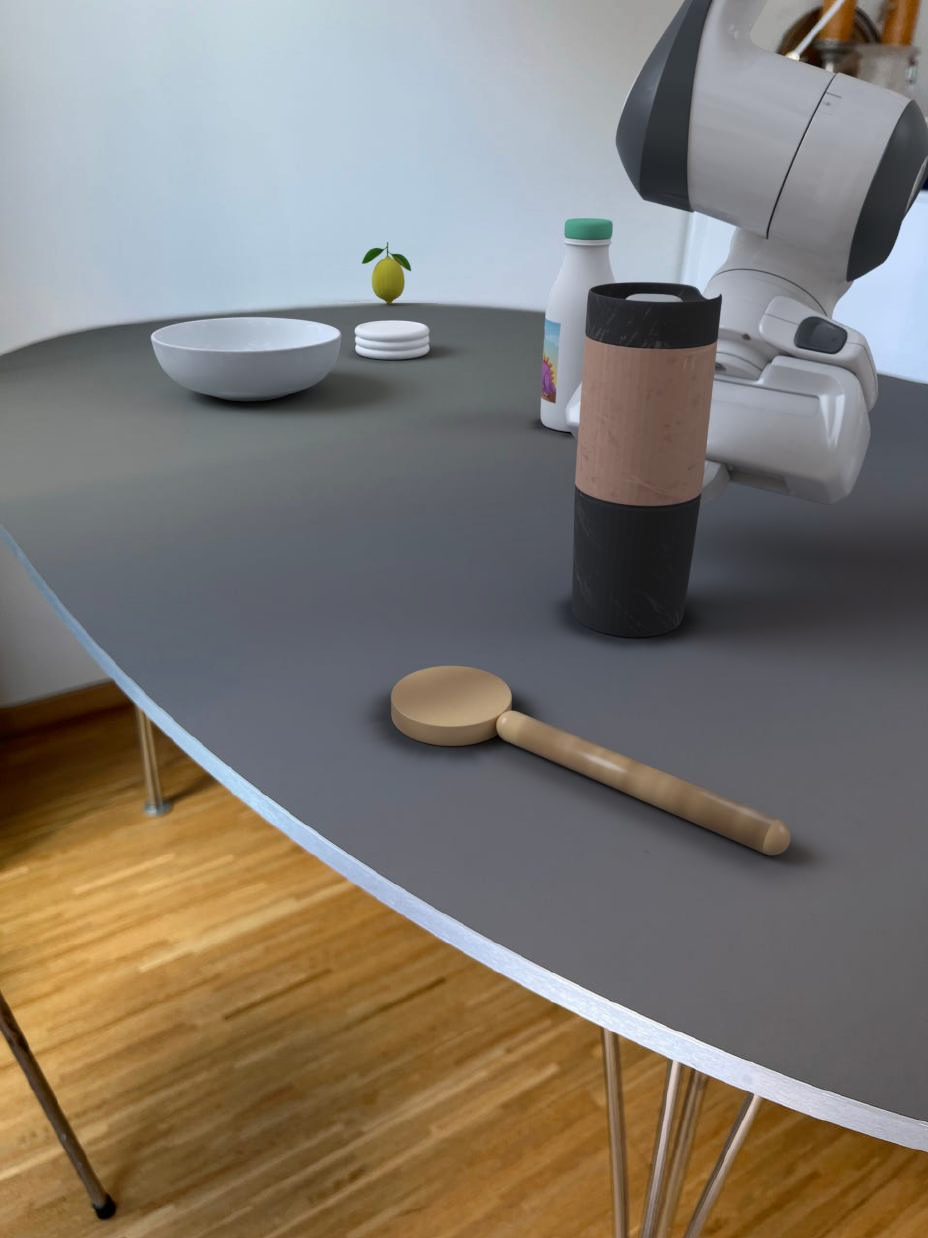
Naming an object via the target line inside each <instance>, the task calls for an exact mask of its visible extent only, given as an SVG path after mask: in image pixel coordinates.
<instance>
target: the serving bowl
mask: <svg viewBox="0 0 928 1238" xmlns="http://www.w3.org/2000/svg"><path fill="white" fill-rule="evenodd" d="M342 336H343V335H342V333H341V331H340V330H339V329H338V328H336V327H335V326H332V325H329V324H326V323H321V322H317V321H311V320H305V319H297V318H285V317H266V316H265V317H264V316H263V317H260V316H245V317H223V318H208V319H207V318H206V319H198V320H192V321H191V320H190V321H185V322H179V323H174V324H171V325H167V326H165V327H164V326H163V327H162V328H159V329H157V330H155V331H153V333H152V334H151V335H150V341H151V345H152V348H153V352H154V354H155V357H156V359H157V361H158V363H159V365H160V367H161V368H162V370H163V371H164V372H165V373H166V374H167V375H168V376H169V378H171V379H172V380H173V381H174V382H175V383H177V384H178V385H180V386H182V387H184V388H186V389H188V390H190V391H193V392H196V393H199V394H203V395H207V396H211V397H215V398H218V399H222V400H226V401H234V402H260V401H270V400H275V399H280V398H283V397H286V396H288V395H290V394H295V393H298V392H300V391H303V390H307V389H309V388H311V387H313V386H315V385H317V384H318V383H320V381H322V380H324V379H325V378H326V377H327V376H328V375H329V374H330V372H331V371H332V370H333V368H334V367H335V365H336V362H337V360H338V358H339V354H340V350H341V343H342V338H343V337H342Z"/></svg>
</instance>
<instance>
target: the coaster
mask: <svg viewBox="0 0 928 1238" xmlns="http://www.w3.org/2000/svg"><path fill="white" fill-rule="evenodd" d="M354 334H355V338H354V342H355V353H357V354H358V355H359V356H361V357H364V358H369V359H375V360H384V361H385V360H386V361H387V360H388V361H389V360H391V361H395V360H409V359H415V358H416V359H417V358H420V357H424V356H425V355H427V354H428V353H429V352H430V345H429V344H430V336H429V334H430V328H429V327H428V326H427V325H426V324H424V323H421V322H416V321H410V320H377V321H369V322H364V323H360V324H358V325H357V326H356V327H355V328H354Z"/></svg>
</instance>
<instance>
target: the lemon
mask: <svg viewBox="0 0 928 1238" xmlns="http://www.w3.org/2000/svg"><path fill="white" fill-rule="evenodd" d="M385 250H386V256H385V257H384V258H382V259H380V260H379V261H378V262H377V263H376V265H374V268H373V270H372V275H371V287H372V291H373V293H374V294H375V296H376V297H377V298H379V299H381V300H383V301H384V302H385V303H386V304H387V305H391V304H392V303H393V301H395V300H396V299H398V298H399V297H401V295H402V294H403V292H404V289H405V285H406V282H405V280H406V279H405V274H404V270H403V269H405V270H407V271H408V272H412V267H411V264H410V261H409V260H408V259H407V257H405V256H404V254H402V253H391V252H390V251H389V241H387V242H386V247H384V248H380V247H374V248H371V249H369V250H368V251H367V252H365V253H366V254H365V255H364V257H363V259H362V262H361V265H365V264H368V263H370V262H372V261H374V260H375V259H376V258H378V257H379V256H380V255H381V254H382V253H383V252H384V251H385ZM389 254H390V255H389Z"/></svg>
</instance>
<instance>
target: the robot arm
mask: <svg viewBox="0 0 928 1238" xmlns="http://www.w3.org/2000/svg"><path fill="white" fill-rule="evenodd" d="M768 2H769V0H683V2H682V4H681V5H680V6H679V8H678V10H677V12H676V13H675V15H674V17H673V18H672V19H671V21H670V22H669V24H668V25H667V27H666V29H665V31H664V32H663V33H662V35H661V37H660V38H659V40H658V41H657V43H656V44H655V45H654V48H653V49H652V51H651V52H650V54H649V56H647V57H648V58H646V60H645V62H644V64H643V65H642V66H641V68H640V70H639V72H638V73H637V75H636V76H635V78H634V80H633V81H632V83H631V86H630V87H629V90H628V91H627V94H626V97H625V99H624V102H623V103H622V104H623V105H622V108H621V111H620V115H619V120H618V124H617V128H616V131H615V132H616V133H615V147H616V150H617V154H618V157H619V159H620V161H621V164H622V166H623V169H624V171H625V173H626V175H627V177H628V179H629V181H630V182H631V184H632V186H633V188H634V190H636V192H637V194H638V195H639V196H640V197H641V199H642V200H643V201H646V202H649V203H654V204H657V205H661V206H665V207H668V208H673V209H676V210H680V211H683V212H687V213H691V214H693V213H695V212H696V213H699V214H702V215H704V216H707V217H710V218H712V219H715V220H718V221H720V222H723V223H726V224H729V225H731V226H734V227H735V229H734V231H733V233H732V236H731V239H730V244H729V251H728V254H727V257H726V259H725V261H724V262H723V264H722V265H721V266H720V267H719V268H718V269H717V270H716V271H715V272H714V273H713V274H712V276H711V277H710V279H709V281H708V282H707V284H706V286H705V287H704V290H703V291H702V293H701V295H702V296H703V297H705V298H707V299H712V298H716V297H718V296H719V295H720V294H722V305H721V313H720V323H719V332H718V342H717V351H716V361H715V371H714V380H713V390H712V399H711V409H710V419H709V428H708V438H707V447H706V457H705V467H704V476H703V486H702V492H701V501H700V508H699V512H700V511H701V510H703V509H704V508H706V507H707V506H708V505H710V504H711V503H712V502H714V501H715V500H717V499H718V498H720V497H721V496H723V494H724V492H725V490H726V488H727V486H728V483H732V484H736V485H741V486H745V487H749V488H753V489H758V490H762V491H766V492H771V493H775V494H777V495H783V496H787V497H791V498H794V499H795V498H796V499H800V500H805V501H808V502H813V503H817V504H821V505H825V506H832V505H834V504H836V503H839V502H840V501H841V500H843V499H845V498H846V497H848V496H849V495H850V494H851V492H852V490H854V486H855V484H856V482H857V480H858V477H859V475H860V472H861V470H862V467H863V464H864V460H865V458H866V454H867V452H868V448H869V444H870V439H871V433H872V431H871V430H872V429H871V423H870V422H871V421H870V417H869V413H870V412H871V410H872V409H873V408H874V406H875V405H876V403H877V400H878V398H879V397H878V396H879V381H878V373H877V368H876V362H875V359H874V356H873V353H872V350H871V347H870V344H869V343H868V341H867V338H866V337H865V335H864V334H863V333H862V332H860V331H859V330H857V329H854V328H852V327H851V326H848V325H845V324H843V323H841V322H839V321H837V320H835V319H833V315H834V311H835V307H836V305H837V303H838V302H839V301H840V300H841V299H842V298H843V297H844V296H845V295H846V293H848V291H849V290H850V289H851V287H852V285H853V284H854V282H855V280H858V279H860V278H862V277H863V276H866V275H867V274H869V273H870V272H872V271H874V270H875V269H877V268H878V267H880V266H882V265H883V264H885V262H886V261H887V260H888V258H889V257H890V255H891V254H892V251H893V249H894V247H895V245H896V242H897V240H898V237H899V235H900V232H901V229H902V228H901V227H902V224H903V221H904V220H905V218H906V216H907V214H908V213H909V212H910V210H911V208H912V207H913V205H914V204H915V201H916V200H917V198H918V196H919V194H920V192H921V191H922V188H923V186H924V184H925V183H926V180H927V177H928V124H927V121H926V118H925V116H924V113H923V111H922V109H921V108H920V106H919V104H918V103H917V101H916V100H915V99H911V98H909V97H907V96H905V95H904V94H902V93H900V92H897V91H894V90H892V89H890V88H886V87H883V86H881V85H877V84H874V83H872V82H870V81H866V80H863V79H859V78H857V77H854V76H851V75H848V74H845V73H842V72H838V73H837V72H833V71H830V70H827V69H824V68H821V67H819V66H816V65H812V64H809V63H806V62H803V61H800V60H797V59H794V58H791V57H788V56H786V55H782V54H779V53H776V52H773V51H771V50H768V49H765V48H762V47H760V46H758V45H757V44H756V43H754V41H753V40H752V38H751V35H750V33H751V31H752V29H753V28H754V26H755V24H756V23H757V21H758V19H759V17H760V16H761V14H762V12H763V11H764V9H765V7H766V6H767V4H768ZM581 388H582V382H581V383H580V385H579V387H578V388H577V390H576V391H575V393H574V394H573V396H572V398H571V399H570V401H569V403H568V405H567V407H566V409H565V419H566V423H567V426H568V428H569V430H570V431H571V432H570V433H571V435H572V436H573V438H574V439H575V441H577V442H576V443H578V432H579V417H580V402H581Z"/></svg>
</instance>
